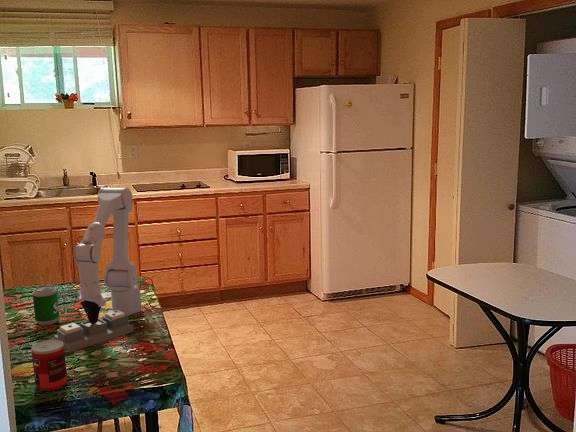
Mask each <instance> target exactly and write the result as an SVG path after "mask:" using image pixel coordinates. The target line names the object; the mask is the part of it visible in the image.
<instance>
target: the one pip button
mask: <svg viewBox="0 0 576 432" xmlns="http://www.w3.org/2000/svg"><path fill="white" fill-rule="evenodd" d="M59 329H60V331H61V332H63V333H65V334H69V333H72V332H76V331H79V330H81V325H79V324H77V323H75V322H72V323H68V324H64V325H61V326H59Z"/></svg>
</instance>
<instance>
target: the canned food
mask: <svg viewBox="0 0 576 432" xmlns="http://www.w3.org/2000/svg"><path fill="white" fill-rule="evenodd" d="M65 351H66V349H65V348H64V343H63V342H62V341H59V340H54V339H46V340H41V341H39V342H36V343H35V344H32V346H31V360H32V370H33V378H34V384H35V387H36V389H37V390H39V391H41V392H42V391H43V392H44V391H45V392H51V391H55V390H59V389H61V388H63V387H64V386H65V385H66V384H67V382H68V374H67V373H68V372H67V362H66V352H65Z"/></svg>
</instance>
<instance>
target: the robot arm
mask: <svg viewBox="0 0 576 432" xmlns="http://www.w3.org/2000/svg"><path fill="white" fill-rule="evenodd" d="M97 203H98V207H97V211H96V213H95V217H94V220H93V222H92V223H90V224H89V225H87V228H86V230H85V233H84V235H83V237H82V239H81V241H80V243H78V244H76V246H75V247H74V249H73V255H72V256H73V260H74V261H75V264H76V268H78V273H79V284H80V289H79V290H77V300H79V301H80V303H79V304H80V305H81V307H82V308H83V310H84V312H85V315H86V317H87V321H88V320H89V323H90V324H94V323H97V322H98V318H99V315H100V311H101V309H102V307H106V306H107V301H106V299H104V298H103V296H102V294H103V293H101V285H100V284H101V283H100V271H99V261H100V259H101V255H102V243H103V241H104V238H105V235H106V234H107V229H106V228H105V227H106V224H107V223H108V221H109V219H110V217H111V215H112V217H113V221H112V222H113V225H112V227H113V229H112V231H113V232H112V240H113V241H112V261H110V263H108V264H107V265H106V266H105V272H104V277H103V279H104V280H103V281H104V282H103V283H105V284H104V285H105V286H106V287H107V288H108V290H110V292H111V297H112V298H111V307H112V308H111V309H110V310H108V311H107V313H108V312H112V311H115V310H119V311H121V312H123V313H125V315H128V316H130V315H134V314H137V313H139V312H140V313H141V312H143V310H144V309H143V308H142V298H141V297H142V296H141V290H140V288H139V286H137V281H138V274H137V267H136V265H135V264H134V263H133V262H131V261H130V260H129V218H130V217H129V213H130V212H132V211H133V193H132V191H131V190H130V188H129V187H126V186H125V187H105V186H101V187H100V188H99V190H98V192H97Z"/></svg>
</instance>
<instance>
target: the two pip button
mask: <svg viewBox="0 0 576 432" xmlns="http://www.w3.org/2000/svg"><path fill="white" fill-rule="evenodd" d="M104 316H106V318H108V319H110V320H115V319H118V318H122V317H125V313H123V312H121V311H119V310H115V311H112V312H108V311H107V312H105V315H104Z"/></svg>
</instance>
